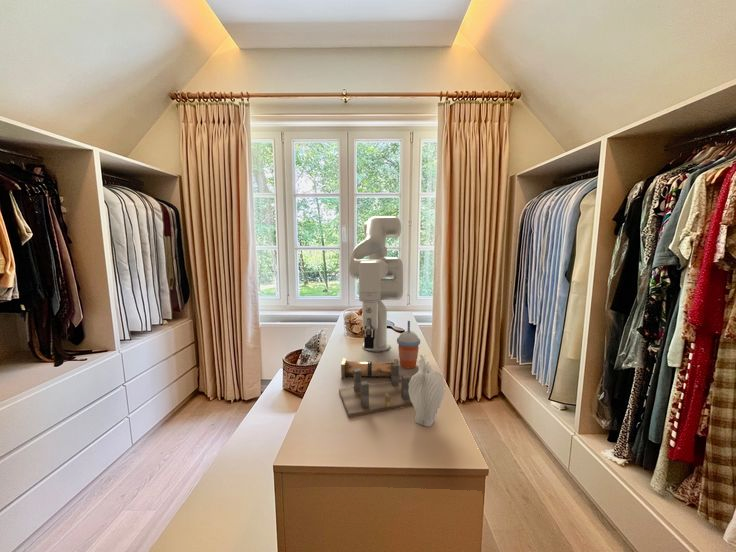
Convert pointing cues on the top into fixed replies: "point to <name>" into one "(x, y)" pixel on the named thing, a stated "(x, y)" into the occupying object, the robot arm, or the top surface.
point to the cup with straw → (408, 348)
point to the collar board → (376, 394)
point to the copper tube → (366, 368)
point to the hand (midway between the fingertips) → (369, 343)
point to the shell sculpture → (426, 392)
